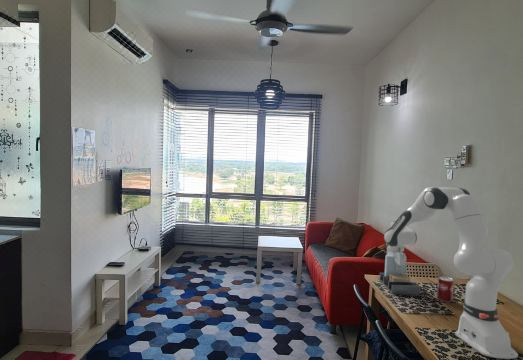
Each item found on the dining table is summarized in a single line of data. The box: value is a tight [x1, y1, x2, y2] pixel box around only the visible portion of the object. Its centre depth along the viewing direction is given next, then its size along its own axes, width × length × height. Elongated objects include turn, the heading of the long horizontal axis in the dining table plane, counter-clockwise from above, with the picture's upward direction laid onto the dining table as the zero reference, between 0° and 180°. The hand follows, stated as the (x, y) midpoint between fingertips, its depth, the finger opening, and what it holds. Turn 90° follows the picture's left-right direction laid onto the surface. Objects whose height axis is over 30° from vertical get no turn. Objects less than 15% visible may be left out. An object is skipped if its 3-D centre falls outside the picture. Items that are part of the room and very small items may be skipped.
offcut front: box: [392, 276, 411, 282], centre depth 182 cm, size 2×10×6 cm, turn 88°
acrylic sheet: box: [384, 254, 408, 276], centre depth 191 cm, size 2×12×16 cm, turn 88°
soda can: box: [436, 276, 455, 303], centre depth 169 cm, size 7×7×12 cm
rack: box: [378, 272, 421, 296], centre depth 186 cm, size 22×16×5 cm
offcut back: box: [389, 274, 409, 281], centre depth 186 cm, size 2×10×6 cm, turn 88°
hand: (395, 268), depth 191 cm, fingers closed on acrylic sheet, 2 cm apart
